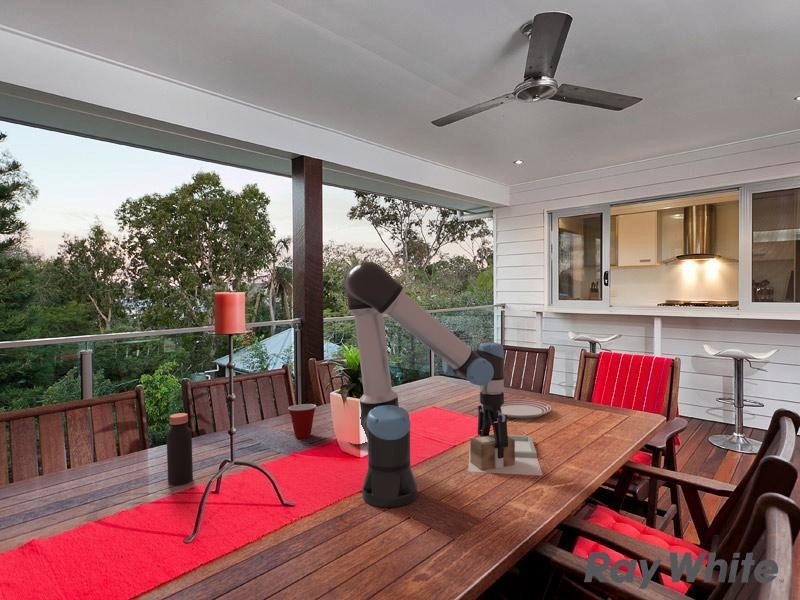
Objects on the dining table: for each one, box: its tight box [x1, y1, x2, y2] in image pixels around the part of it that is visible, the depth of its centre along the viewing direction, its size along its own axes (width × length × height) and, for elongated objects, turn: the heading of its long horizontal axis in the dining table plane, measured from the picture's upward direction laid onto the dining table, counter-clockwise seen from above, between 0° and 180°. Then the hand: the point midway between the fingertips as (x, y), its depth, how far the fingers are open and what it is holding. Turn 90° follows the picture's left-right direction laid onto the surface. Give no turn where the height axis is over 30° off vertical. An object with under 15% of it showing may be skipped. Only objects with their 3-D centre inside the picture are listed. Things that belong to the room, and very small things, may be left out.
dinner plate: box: [501, 399, 553, 420], centre depth 204 cm, size 28×27×3 cm
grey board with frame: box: [467, 433, 543, 476], centre depth 154 cm, size 22×32×3 cm
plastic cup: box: [287, 403, 317, 440], centre depth 176 cm, size 11×11×12 cm
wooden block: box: [469, 435, 515, 471], centre depth 145 cm, size 12×7×8 cm, turn 110°
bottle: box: [166, 412, 194, 487], centre depth 137 cm, size 7×7×20 cm
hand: (492, 462), depth 146 cm, fingers closed on wooden block, 7 cm apart
